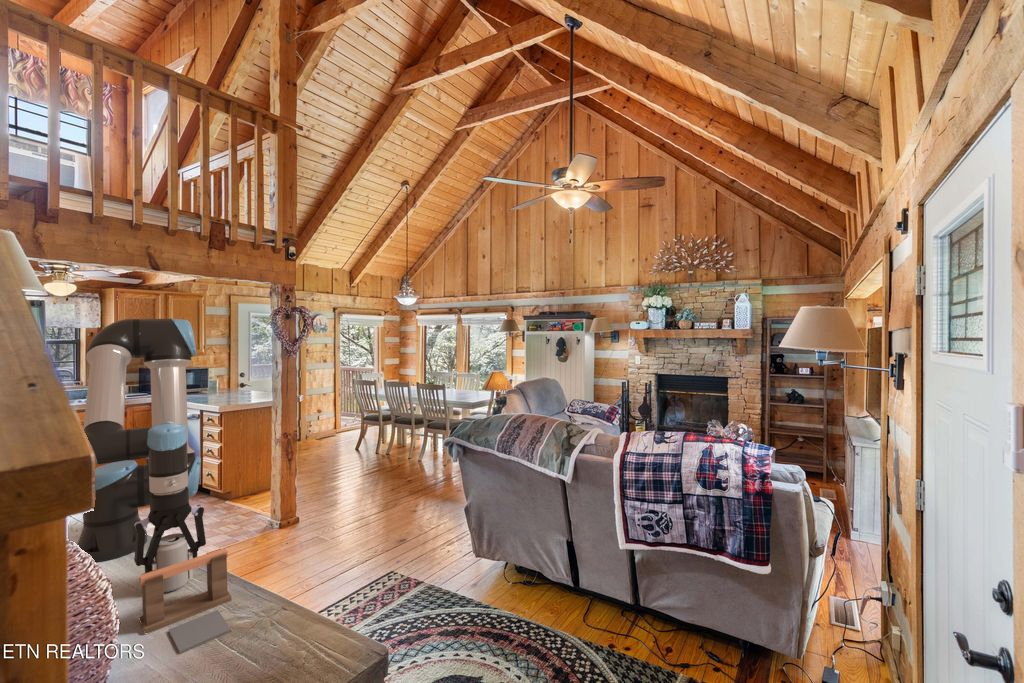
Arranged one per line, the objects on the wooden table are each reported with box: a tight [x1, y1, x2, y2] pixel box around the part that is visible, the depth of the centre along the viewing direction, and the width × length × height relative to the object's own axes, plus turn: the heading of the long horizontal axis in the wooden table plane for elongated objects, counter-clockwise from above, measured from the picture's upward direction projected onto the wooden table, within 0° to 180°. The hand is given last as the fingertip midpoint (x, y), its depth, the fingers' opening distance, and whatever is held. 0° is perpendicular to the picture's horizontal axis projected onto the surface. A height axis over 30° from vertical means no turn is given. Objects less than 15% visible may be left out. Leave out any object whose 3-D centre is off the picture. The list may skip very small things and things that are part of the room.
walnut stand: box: [138, 548, 233, 634], centre depth 105 cm, size 6×16×11 cm, turn 138°
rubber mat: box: [168, 609, 232, 654], centre depth 98 cm, size 9×9×1 cm
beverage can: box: [154, 532, 190, 593], centre depth 113 cm, size 6×6×12 cm
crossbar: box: [138, 547, 229, 587], centre depth 104 cm, size 2×16×2 cm, turn 137°
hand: (172, 582), depth 114 cm, fingers open, 6 cm apart
